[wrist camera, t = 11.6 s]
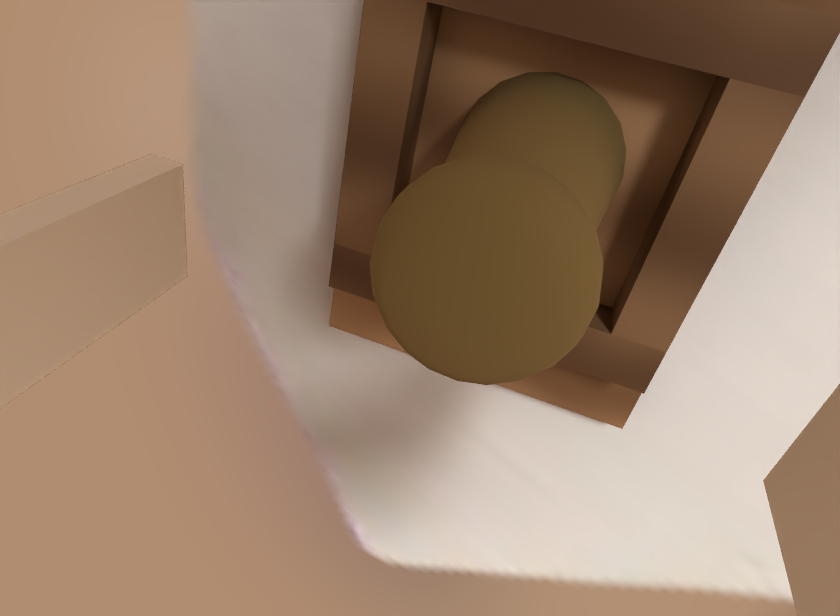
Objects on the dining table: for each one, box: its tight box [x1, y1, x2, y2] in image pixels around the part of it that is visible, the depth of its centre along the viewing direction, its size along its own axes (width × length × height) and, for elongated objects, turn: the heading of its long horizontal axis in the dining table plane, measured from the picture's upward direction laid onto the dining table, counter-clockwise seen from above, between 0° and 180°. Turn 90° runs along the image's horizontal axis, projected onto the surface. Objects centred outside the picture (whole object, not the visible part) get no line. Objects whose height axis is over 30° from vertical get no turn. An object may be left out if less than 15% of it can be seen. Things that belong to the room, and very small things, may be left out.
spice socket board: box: [329, 0, 840, 428], centre depth 21 cm, size 20×14×3 cm
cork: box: [370, 72, 626, 385], centre depth 16 cm, size 6×6×11 cm
